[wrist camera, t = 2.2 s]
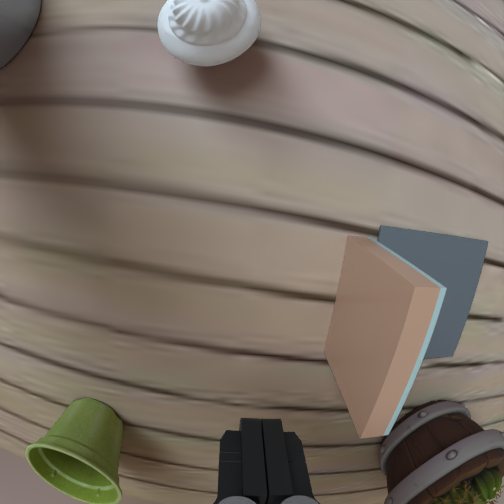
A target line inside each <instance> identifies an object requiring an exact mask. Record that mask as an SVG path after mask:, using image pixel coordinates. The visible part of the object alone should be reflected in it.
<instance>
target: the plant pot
mask: <svg viewBox="0 0 504 504" xmlns="http://www.w3.org/2000/svg"><path fill="white" fill-rule="evenodd" d="M122 436H123V422H122V420H120V419H119V418H118V417H117V416H116V414H115V413H114V411H113V410H112V409H111V408H110V407H108V406H107V405H105V404H103V403H101V402H99V401H97V400H94V399H90V398H83V399H80V400H74V401H73V402H72V403H71V404H70V406H69V407H68V408H67V409H66V410H65V412H64V413H63V414H62V416H61V417H60V418H59V419H58V420H57V422H56V423H55V424H54V425H53V427H52V428H51V429H50V430H49V431H48V433H47V434H46V435H45V436H44V437H42V438H40V439H39V440H38V441H37V442H36V443H32V444H30V445H29V446H28V447H27V449H26V452H25V454H26V458H27V460H28V462H29V464H30V465H31V467H32V468H33V470H34V471H35V472H36V473H37V474H38V475H39V476H40V477H41V478H42V479H43V480H44V481H46V482H47V483H49V484H50V485H51V486H53V487H54V488H56V489H57V490H59V491H61V492H63V493H64V494H66V495H68V496H71V497H73V498H75V499H77V500H80V501H84V502H87V503H90V504H117V503H118V502H120V500H121V498H122V491H121V488H120V486H119V477H118V467H119V458H120V450H121V443H122Z"/></svg>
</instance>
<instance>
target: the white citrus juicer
mask: <svg viewBox="0 0 504 504" xmlns="http://www.w3.org/2000/svg"><path fill="white" fill-rule="evenodd" d="M260 25H261V19H260V13H259V9H258V7H257V4H256V3H255V1H254V0H168V1H167V2H166V3H165V5H164V6H163V8H162V10H161V12H160V14H159V17H158V34H159V37H160V40H161V43H162V45H163V46H164V48H165V49H166V50H167V52H168V53H169V54H170V55H172V56H173V57H174V58H176V59H178V60H180V61H182V62H184V63H187V64H190V65H195V66H214V65H219V64H223V63H226V62H228V61H231V60H233V59H235V58H236V57H238V56H240V55H241V54H242V53H244V52H245V51H246V50H247V49H248V48H249V47H250V46H251V45H252V44H253V43H254V42H255V40H256V39H257V37H258V34H259V31H260Z"/></svg>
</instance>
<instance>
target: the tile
mask: <svg viewBox="0 0 504 504" xmlns="http://www.w3.org/2000/svg"><path fill="white" fill-rule="evenodd" d="M446 289H447V288H446V287H444V286H443V285H442V284H440V283H439V282H437V281H436V280H434V279H433V278H432V277H430V276H429V275H427V274H426V273H424V272H423V271H421V270H420V269H419V268H417V267H416V266H414V265H413V264H411V263H410V262H408V261H407V260H405V259H404V258H402V257H401V256H399V255H398V254H396V253H395V252H393V251H392V250H390V249H389V248H387V247H386V246H384V245H382V244H381V243H379V242H378V241H376V240H375V239H373V238H370V237H360V236H351V235H348V237H347V243H346V249H345V254H344V260H343V265H342V271H341V276H340V281H339V286H338V291H337V296H336V301H335V306H334V310H333V315H332V320H331V324H330V329H329V333H328V337H327V341H326V346H325V350H324V353H325V356H326V358H327V360H328V363H329V365H330V368H331V370H332V372H333V375H334V377H335V379H336V382H337V384H338V387H339V389H340V391H341V394H342V396H343V399H344V401H345V403H346V406H347V408H348V411H349V413H350V416H351V418H352V420H353V423H354V425H355V428H356V430H357V433H358V435H359V438H360V439H362V438H370V437H378V436H385V435H389V433H390V431H391V429H392V427H393V425H394V423H395V421H396V419H397V417H398V415H399V413H400V411H401V409H402V407H403V405H404V402H405V400H406V398H407V396H408V394H409V391H410V389H411V387H412V385H413V382H414V380H415V378H416V375H417V373H418V370H419V368H420V365H421V363H422V360H423V358H424V355H425V353H426V350H427V347H428V345H429V342H430V339H431V336H432V333H433V330H434V328H435V325H436V322H437V319H438V315H439V312H440V309H441V306H442V303H443V299H444V296H445V293H446Z"/></svg>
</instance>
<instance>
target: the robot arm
mask: <svg viewBox="0 0 504 504" xmlns="http://www.w3.org/2000/svg"><path fill="white" fill-rule="evenodd" d="M40 6H41V0H0V68H2V67H3V66H4V65H6V64H7V63H8V62H9V61H10V60H11V59H12V58H13V57H14V56H15V55H16V54H17V53H18V52H19V51H20V49H21V48H22V47H23V45H24V44H25V42H26V41H27V39H28V38H29V36H30V34H31V32H32V31H33V29H34V26H35V24H36V22H37V19H38V16H39V12H40ZM305 461H306V460H305V456H304V451H303V446H302V442H301V440H300V439H299V438H298V436H297V435H296V434H295V432H283V427H282V421H281V419H261V420H260V419H254V418H241V420H240V428H239V431H231V430H226V432H225V433H224V435H223V437H222V438H221V440H220V454H219V475H218V496H217V499H216V501H215V502H214V503H213V504H320V503H319V502H318V501H317V500H316V499H315V498H314V496H313V493H312V489H311V484H310V479H309V475H308V470H307V465H306V463H305Z"/></svg>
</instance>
